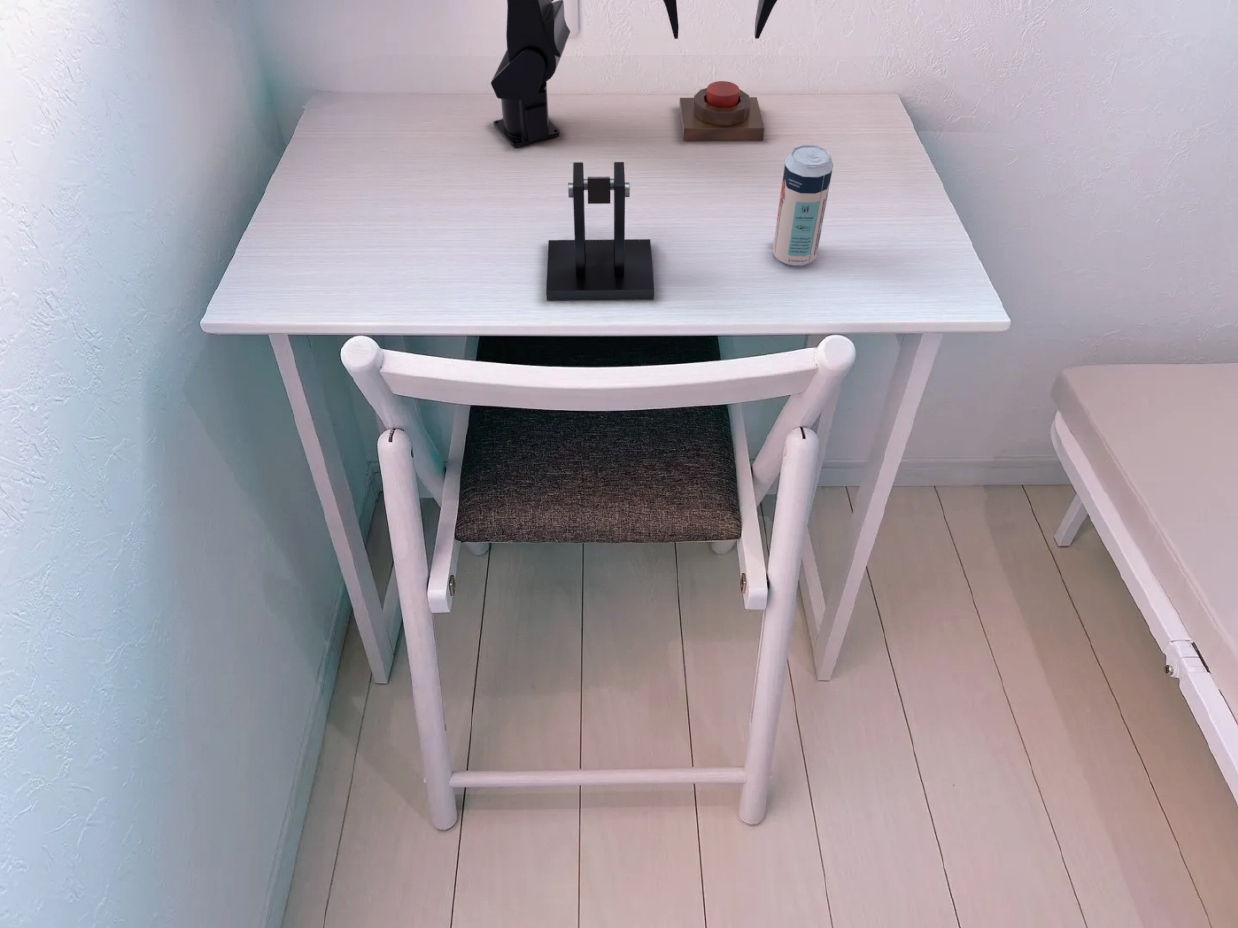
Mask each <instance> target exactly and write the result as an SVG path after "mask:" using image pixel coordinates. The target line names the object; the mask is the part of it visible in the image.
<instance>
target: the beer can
mask: <svg viewBox="0 0 1238 928" xmlns="http://www.w3.org/2000/svg"><path fill="white" fill-rule="evenodd" d="M831 157H832V156H831V154H830V153H829V152H828V150H827V149H826V148H823V147H821V146H818V145H814V144H802V145H799V146H796V147H793V149H792V151H790V153H789V155H788V156H787V157H786V158H785V161H784V166H783V174H782V175H783V176H782V181H781V188H780V195H779V202H778V209H777V217H776V223H775V224H776V225H775V231H774V237H773V244H772V245H773V246H772V254H773V256H774V257H775V258H776V259H777V260H778V261H779V262H781V263H783V264H785V265H788V266H793V267H796V266H806V265H809V264H811V263H812V262H814V261H815V260H816V258H817V257H818V251H819V246H820V241H821V234H822V230H823V223H824V218H825V212H826V207H827V202H828V196H829V190H830V187H831V186H830V185H831V181H832V174H833V169H834V163H833V160H832V158H831Z"/></svg>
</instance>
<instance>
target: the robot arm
mask: <svg viewBox="0 0 1238 928" xmlns="http://www.w3.org/2000/svg"><path fill="white" fill-rule="evenodd" d="M662 1H663V3H664V6H665V10H666V13H667V16H668V20H669V23H670V27H671V32H672V36H673V39H674V40H678V39H679V29H680V27H679V16H678V4H677V0H662ZM777 2H778V0H758V3H757V6H756V7H757V9H756V14H755V22H754V34H753V35H754V39H755V40H758V39H760V37H761V35H762V33H763V31H764V29H765V26H766V23H767V22H768V20H769V18H770V15H771V14H772V11H773V10H774V9H773V8H774V7H775V5H776V3H777ZM506 5H507V6H506V7H507V10H506V31H505V33H506V34H505V38H506V39H505V40H506V50H505V53H504V55H503V57H502V59H501V61H500V63H499V65H498V67H497V69H496V71H495V73H494V75H493V77H492V79H491V81H490V85H491V87H492V90H493V92H494V94H495V96H496V98H497V99H499V100H500V103H501V113H502V114H501V115H502V118H501V119H497V120H493V122H492V123H493V127H494V128H495V129H496V130H497V131H498V132H499V134H501V136H502V137H503V138H504V139H505V140H506V141H507V142H508V143H509V144H510V145H511V147H513V148H518V147H522V146H526V145H530V144H533V143H537V142H540V141H544V140H547V139H551V138H555V137H559V136H560V135H561V132H560V129H559V128H558V127H557V126H555V124H554V123H553V122H552V121H551V120H550V119H549V118H550V117H549V104H548V103H549V101H548V100H549V99H548V83H547V82H548V81H549V80H551V79H552V78H553V76H554V75H555V73H556V71H557V68H558V66H559V64H560V61H561V58H562V56H563V53H564V51H565V48H566V44H567V41H568V39H569V36H570V34H571V30H570V28H569V26H568V25H567V22H566V18H565V3H564V0H556V1H553V2H552V0H506Z"/></svg>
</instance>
